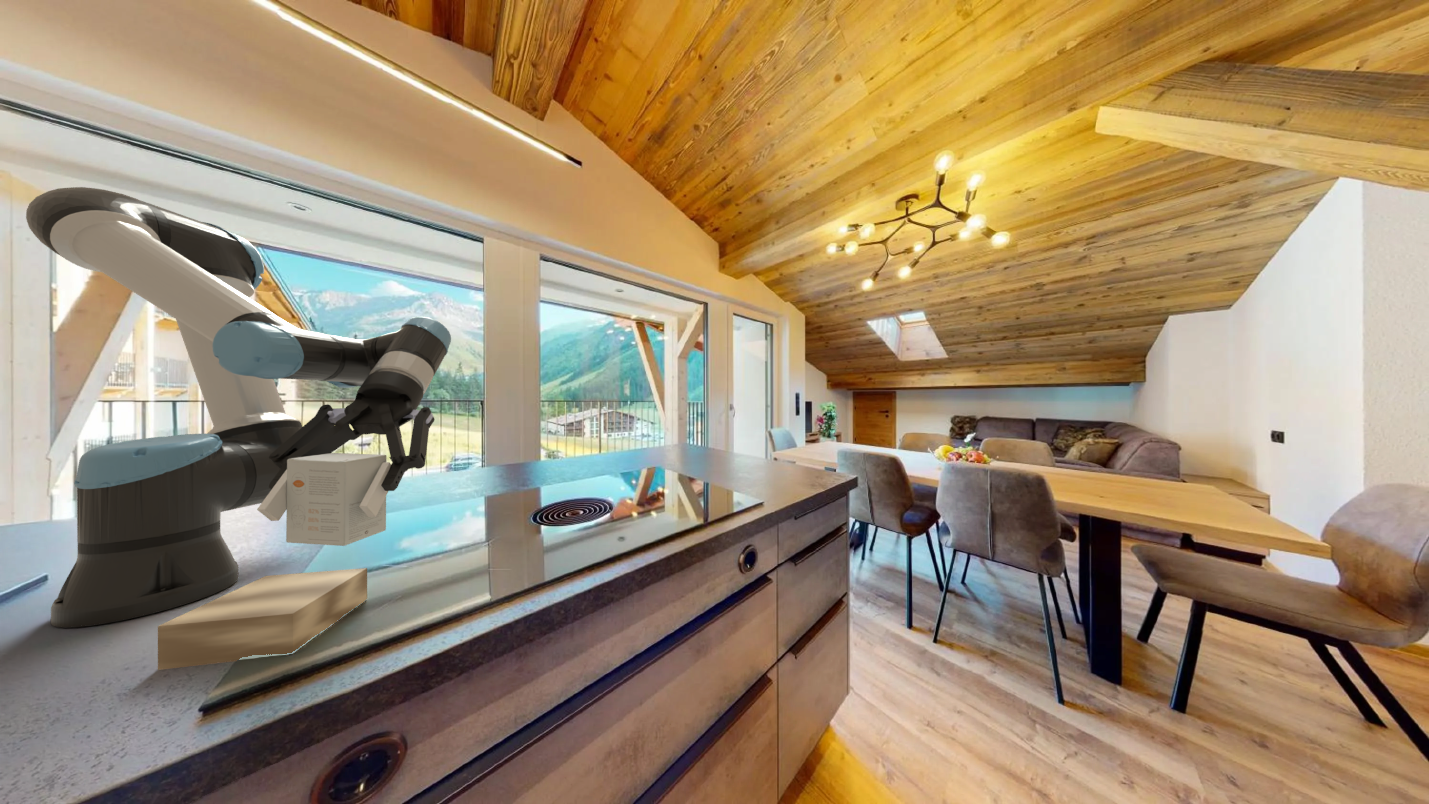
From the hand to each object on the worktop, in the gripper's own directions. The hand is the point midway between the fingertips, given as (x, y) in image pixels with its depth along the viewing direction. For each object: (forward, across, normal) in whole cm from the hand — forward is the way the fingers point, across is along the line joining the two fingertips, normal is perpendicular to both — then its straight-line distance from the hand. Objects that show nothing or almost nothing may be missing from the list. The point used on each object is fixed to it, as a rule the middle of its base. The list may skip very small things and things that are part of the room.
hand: (319, 513), depth 46 cm
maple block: (+9, +6, -13) cm, 17 cm away
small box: (+1, 0, -5) cm, 5 cm away
